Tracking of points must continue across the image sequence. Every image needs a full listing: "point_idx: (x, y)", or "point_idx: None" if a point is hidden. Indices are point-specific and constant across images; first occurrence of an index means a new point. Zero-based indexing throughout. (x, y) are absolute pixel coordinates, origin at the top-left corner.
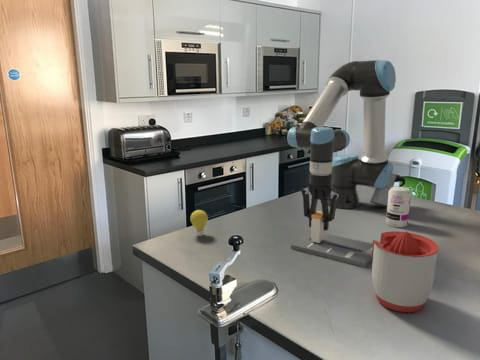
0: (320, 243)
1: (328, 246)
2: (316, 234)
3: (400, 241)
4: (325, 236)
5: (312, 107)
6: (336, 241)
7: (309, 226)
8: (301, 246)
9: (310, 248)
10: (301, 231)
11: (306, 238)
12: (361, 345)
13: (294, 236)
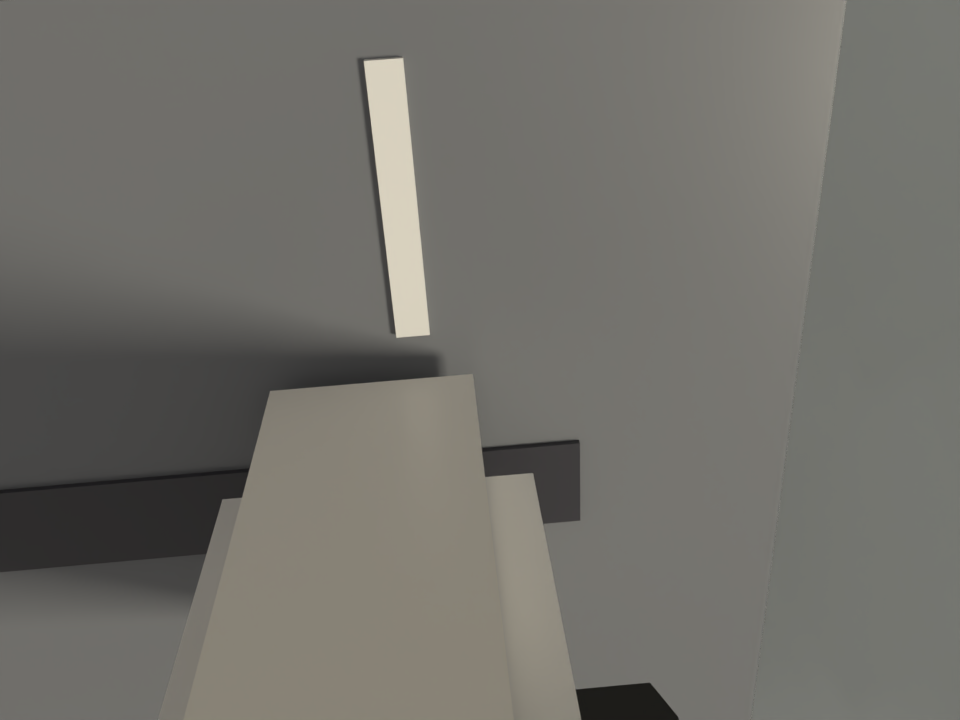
0: None
1: (48, 399)
2: (326, 510)
3: None
4: None
5: None
6: (97, 661)
7: (650, 698)
8: (552, 9)
9: (293, 42)
10: (890, 705)
11: (655, 466)
12: None
13: (939, 501)
